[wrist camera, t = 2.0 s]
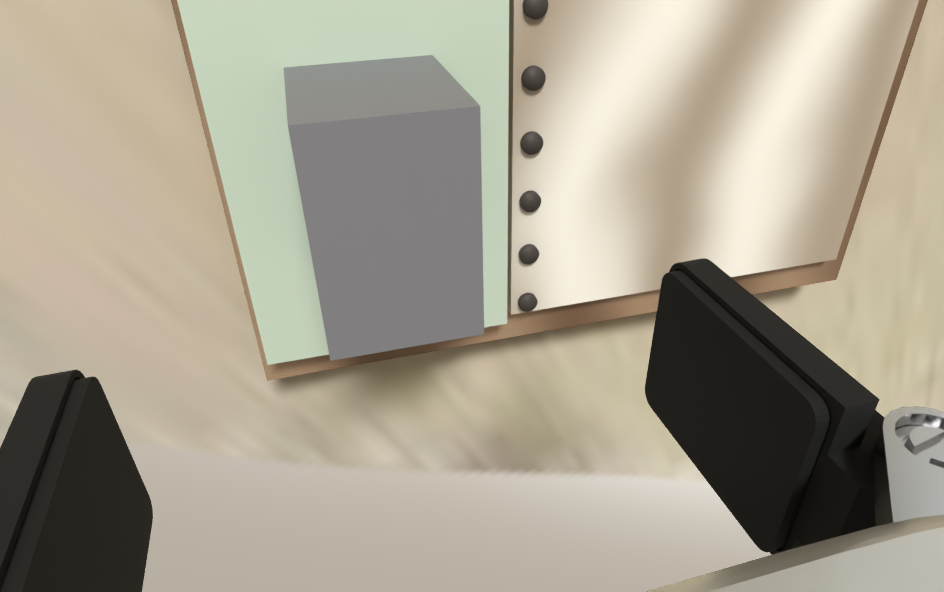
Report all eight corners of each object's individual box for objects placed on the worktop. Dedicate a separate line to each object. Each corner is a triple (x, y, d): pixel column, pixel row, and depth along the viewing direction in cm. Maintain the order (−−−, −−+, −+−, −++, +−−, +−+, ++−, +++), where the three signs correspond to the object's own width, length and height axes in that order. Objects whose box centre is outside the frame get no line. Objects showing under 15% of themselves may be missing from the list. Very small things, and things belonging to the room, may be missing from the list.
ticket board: (929, -170, 21) (1008, -176, 19) (805, 257, 30) (849, 288, 28) (144, -157, 16) (124, -163, 14) (267, 348, 25) (266, 394, 23)
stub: (500, -98, 17) (588, -90, 12) (500, 311, 24) (557, 416, 19) (161, -85, 15) (113, -69, 11) (267, 351, 22) (266, 476, 18)
